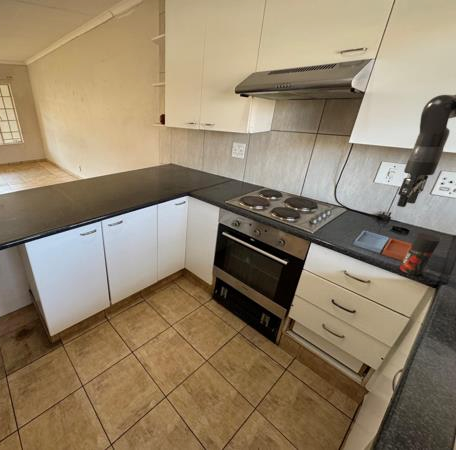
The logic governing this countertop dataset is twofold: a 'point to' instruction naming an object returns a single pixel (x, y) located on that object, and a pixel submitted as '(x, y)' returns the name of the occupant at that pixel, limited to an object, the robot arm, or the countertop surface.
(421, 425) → the countertop surface
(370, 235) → the blue tray
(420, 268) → the deodorant
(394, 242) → the terracotta tray
